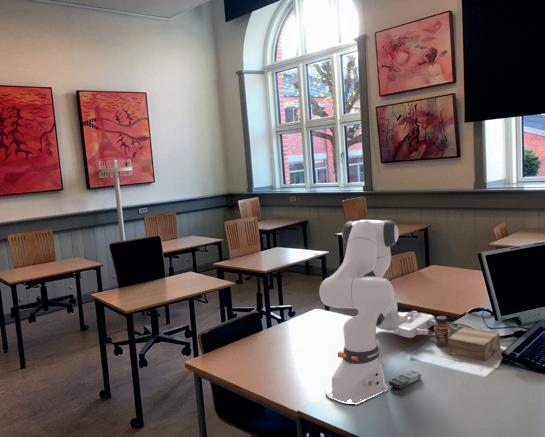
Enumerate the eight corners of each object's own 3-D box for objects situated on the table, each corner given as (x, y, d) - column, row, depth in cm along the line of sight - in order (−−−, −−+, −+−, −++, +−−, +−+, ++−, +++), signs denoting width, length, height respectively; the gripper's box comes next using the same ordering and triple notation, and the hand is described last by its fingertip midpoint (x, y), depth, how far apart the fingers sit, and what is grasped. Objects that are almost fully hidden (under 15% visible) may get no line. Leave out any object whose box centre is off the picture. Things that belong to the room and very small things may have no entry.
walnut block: (485, 360, 180) (483, 345, 180) (449, 352, 191) (447, 338, 190) (500, 347, 190) (499, 332, 189) (465, 341, 200) (464, 326, 199)
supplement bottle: (434, 346, 199) (432, 319, 197) (436, 340, 204) (434, 314, 202) (449, 347, 196) (447, 320, 194) (451, 341, 201) (449, 315, 200)
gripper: (390, 323, 204) (420, 329, 194) (415, 309, 218) (445, 314, 208) (391, 338, 205) (421, 344, 195) (417, 323, 219) (446, 328, 209)
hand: (434, 328), depth 202 cm, fingers open, 8 cm apart
